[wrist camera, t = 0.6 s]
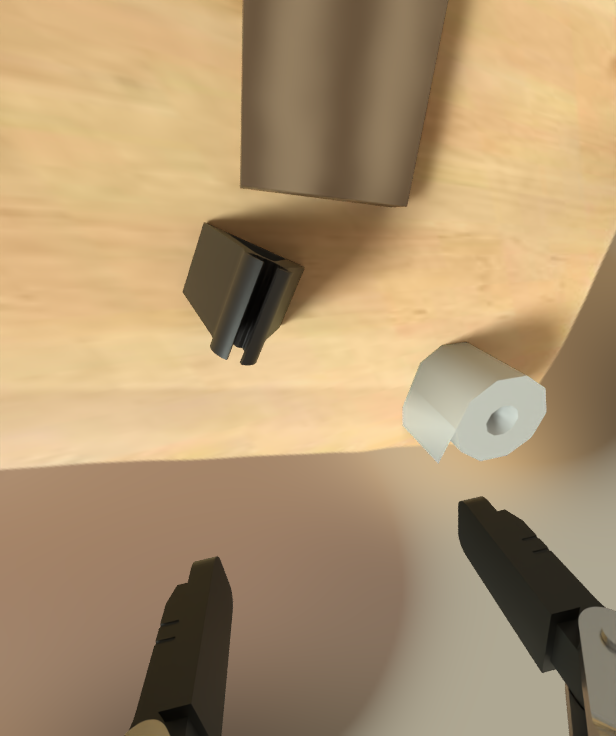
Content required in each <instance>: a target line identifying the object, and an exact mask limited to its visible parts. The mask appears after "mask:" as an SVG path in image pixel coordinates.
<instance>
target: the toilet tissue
mask: <svg viewBox="0 0 616 736" xmlns="http://www.w3.org/2000/svg"><path fill="white" fill-rule="evenodd" d="M545 413H546V391H545V388H544V387H543V386H541V385H540V384H538V383H537V382H536V381H534V380H533V379H531V378H530V377H528V376H527V375H525V374H523V373H521V372H520V371H518V370H516V369H514V368H512V367H511V366H509V365H507V364H505V363H503V362H502V361H500V360H498V359H496V358H494V357H492V356H491V355H489V354H487V353H485V352H483V351H482V350H480V349H478V348H476V347H474V346H473V345H471V344H469V343H467V342H461V343H455V344H448V345H442V346H441V347H439V348H438V349H437V350H436V351H434V352H433V353H432V354H431V355H429V356H428V357H427V358H426V359H424V360H423V361H422V362H421V363H420V365H419V368H418V370H417V373H416V375H415V378H414V380H413V383H412V385H411V387H410V390H409V392H408V395H407V397H406V400H405V402H404V405H403V426H404V428H405V429H406V430H407V431H408V432H409V433H410V434H411V435H412V436H413V437H414V438H415V439H416V440H417V441H418V442H419V444H420V445H421V446H422V447H423V448H424V449H425V450H426V451H427V452H428V453H429V454H430V455H431V456H432V457H433V458H434V459H435V461H437V463H439V461H440V459H441V457H442V456H443V454H444V452H445V450H446V448H447V446H448V444H449V442H450V441H451V442H452V443H453V444H454V445H455V446H456V447H457V448H458V449H459V450H460V451H461V452H462V453H465V454H467V455H469V456H471V457H473V458H475V459H477V460H479V461H483V460H488V459H492V458H497V457H502V456H507V455H508V454H509V453H511V452H512V451H513V450H515V449H516V448H517V447H519V446H520V445H521V444H523V443H524V442H526V441H527V440H528V439H530V438H531V437H532V435H533V434H534V432H535V430H536V429H537V427H538V425H539V424H540V422H541V420H542V418H543V417H544V415H545Z"/></svg>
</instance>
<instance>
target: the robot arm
mask: <svg viewBox="0 0 616 736" xmlns="http://www.w3.org/2000/svg"><path fill="white" fill-rule="evenodd" d="M458 535H459V540H460V544H461V546H462V548H463V551H464V553H465V555H466V556H467V558H468V559H469V561H470V562H471V564H472V566H473V567H474V569H475V570H476V572H477V573H478V575H479V576H480V578H481V579H482V581H483V583H484V584H485V586H486V587H487V589H488V590H489V592H490V593H491V595H492V596H493V598H494V599H495V601H496V602H497V604H498V606H499V607H500V609H501V610H502V612H503V613H504V615H505V617H506V618H507V620H508V621H509V623H510V624H511V626H512V627H513V629H514V630H515V632H516V633H517V635H518V637H519V638H520V640H521V641H522V643H523V644H524V646H525V647H526V649H527V650H528V652H529V654H530V655H531V657H532V658H533V660H534V661H535V663H536V664H537V666H538V667H539V669H540V671H541V672H542V673H544V672H547V671H551V670H555V669H556V670H557V671H558V673H559V674H560V675H561V677H562V678H563V680H564V681H565V694H566V705H567V716H568V725H569V736H616V611H614V610H612V609H608V608H606V607H604V606H603V605H602V604H601V603H600V602H599V601H597V599H596V598H595V597H594V596H593V595H592V594H591V593H590V592H589V591H588V590H587V589H586V588H585V587H584V586H583V584H582V583H581V582H579V580H578V579H577V578H576V577H575V576H574V575H573V574H572V573H571V572H570V571H569V570H568V568H567V567H566V566H565V565H564V564H563V563H562V562H561V561H560V560H559V559H558V558H557V557H556V556H555V555H554V554H553V552H552V551H549V549H548V547H547V546H546V545H545V544H544V543H543V542H542V541H541V540H540V539H539V538H537V536H536V534H535V533H534V532H533V531H532V530H531V529H530V528H529V527H528V526H527V525H526V524H525V522H524V521H523V520H521V519H519V518H518V517H516V516H515V515H513V514H511V513H510V512H508V511H506V510H501V511H496V509H495V508H494V507H493V506H492V505H491V504H490V502H489V501H488V500H487V499H485V498H484V497H477V498H472V499H468V500H464V501H460V502H459V504H458ZM232 612H233V599H232V592H231V587H230V584H229V582H228V579H227V576H226V574H225V571H224V568H223V566H222V563H221V560H220V558H219V557H212V558H208V559H204V560H200V561H195V562H194V563H193V565H192V568H191V571H190V575H189V580H188V583H185V584H181V585H177V587H176V588H175V590H174V592H173V593H172V595H171V597H170V598H169V600H168V601H167V603H166V606H165V609H164V613H163V617H162V620H161V627H160V628H159V631H158V635H157V638H156V645H155V646H154V649H153V653H152V656H151V660H150V663H149V667H148V670H147V674H146V678H145V682H144V685H143V688H142V692H141V696H140V700H139V703H138V707H137V710H136V714H135V717H134V720H133V722H132V724H131V727H130V729H129V731H128V732H127V733H126V734H125V735H124V736H221V733H222V723H223V711H224V701H225V689H226V678H227V667H228V656H229V645H230V633H231V623H232Z"/></svg>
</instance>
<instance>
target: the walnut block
mask: <svg viewBox="0 0 616 736" xmlns="http://www.w3.org/2000/svg"><path fill="white" fill-rule="evenodd" d="M447 4H448V0H243V23H242V96H241V169H240V188H243V189H251V190H259V191H267V192H275V193H283V194H291V195H299V196H307V197H315V198H323V199H331V200H338V201H346V202H354V203H362V204H370V205H378V206H386V207H407V204H408V199H409V194H410V189H411V184H412V179H413V174H414V169H415V164H416V159H417V154H418V149H419V144H420V139H421V134H422V129H423V124H424V119H425V114H426V109H427V104H428V99H429V94H430V89H431V84H432V79H433V74H434V69H435V64H436V59H437V54H438V49H439V44H440V39H441V34H442V29H443V24H444V19H445V14H446V9H447Z"/></svg>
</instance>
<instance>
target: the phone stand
mask: <svg viewBox="0 0 616 736" xmlns="http://www.w3.org/2000/svg"><path fill="white" fill-rule="evenodd" d="M304 268H305V267H303V266H301V265H299V264H296V263H294V262H292V261H290V260H287V259H285V258H283V257H281V256H279V255H276V254H274V253H272V252H270V251H267V250H265V249H263V248H261V247H258V246H256V245H254V244H252V243H250V242H247V241H245V240H243V239H241V238H238V237H236V236H234V235H232V234H229V233H227V232H225V231H223V230H221V229H218V228H216V227H214V226H212V225H209V224H207V223H205V222H204V224H203V227H202V230H201V234H200V237H199V240H198V243H197V247H196V250H195V253H194V256H193V260H192V263H191V266H190V270H189V273H188V276H187V279H186V283H185V286H184V289H183V293H184V295H185V296H186V298H187V299H188V301H189V302H190V304H191V305H192V307H193V308H194V310H195V311H196V313H197V314H198V316H199V317H200V319H201V320H202V322H203V323H204V325H205V326H206V328H207V329H208V331H209V332H210V334H211V335H212V337H213V339H212V342H211V345H210V348H211V350H212V351H213V352H214V353H215V354H217V355H218V356H220V357H221V358H223V359H225V360H227V359H228V357H229V354H230V352H231V349H232V346H233V345H235V346H236V347H239V348H243V350H244V354H243V356H242V359H241V361H240V363H241V365H254V364H255V363H256V362H257V359H258V357H259V354H260V352H261V349H262V347H263V345H264V342H265V340H266V339H267V338H268V337H270V336H271V335H272V334H273V333H274V332H275V331H276V330H277V329H278V328H279V327H280V325H281V323H282V320H283V318H284V315H285V313H286V311H287V308H288V306H289V304H290V301H291V299H292V296H293V294H294V292H295V289H296V287H297V285H298V282H299V280H300V277H301V275H302V273H303V270H304Z"/></svg>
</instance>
